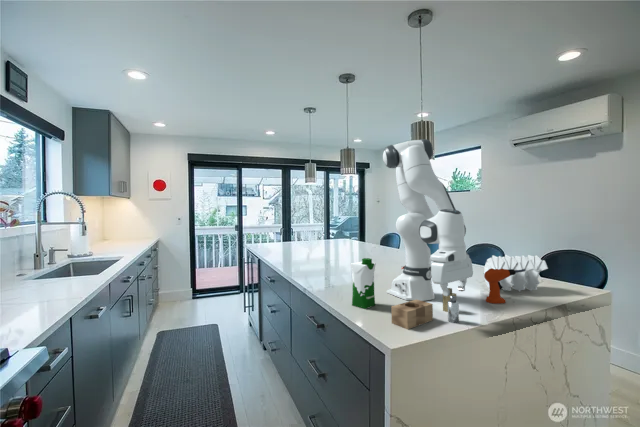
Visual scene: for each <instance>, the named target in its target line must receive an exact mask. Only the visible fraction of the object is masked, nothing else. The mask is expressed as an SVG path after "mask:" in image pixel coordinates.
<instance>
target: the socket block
mask: <svg viewBox="0 0 640 427" xmlns="http://www.w3.org/2000/svg"><path fill="white" fill-rule="evenodd" d="M433 306H434V305H433V303H430V302H427V301H420V300H417V299H416V300H408V301H406V302H402V303H398V304H396V305H395V304H394V305H391V307H390V308H391V312H390V313H391V324H393V325H394V326H397V327H400V328H403V329H405V330H410V329H412V328H416V327H418V326H421V325H424V324H426V323H429V322H432V321H433V320H434V319H433V318H434V317H433V316H434V314H433V313H434V308H433Z"/></svg>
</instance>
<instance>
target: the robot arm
mask: <svg viewBox="0 0 640 427" xmlns="http://www.w3.org/2000/svg"><path fill="white" fill-rule="evenodd" d="M432 144H433V143H432V142H431V141H430V140H429V139H426V138H425V139H424V138H421V139H414V140H412V139H411V140H406V141H404V142H399V143H395V144H390V145H387V146H386V147H385V148H384V149H383V154H382V161H383V162H384V165H385V167H387V168H388V169H395V180H396V186H397V187H396V188H397V191H398V196H399V201H400V203H401V205H402V206H403V207H404V208H405V210H406V212H407V213H405V214H402V215H400V216H398V218H397V219H396V222H395V229H396V232H398V235H400V236H401V239H402V242H403V245H404V248H405V249H404V250H405V251H404V252H405V253H404V254H405V265H404V266H402V267H401V270H402V272H401V274H398V276H397V277H395V278H393V280H392V281H391V287H390V288H388V289H386V293H387V294H389V295H392V296H395V297H396V298H399V299H402V300H405V301H413V300H416V299H417V300H420V301H424V302H426V301H431V300H434V299H435V298H436V296H435V293H434V289H433V284H436V285H439V287H440V288H441V290H442V296H443V295H444V296H449V295H450V290H448V288H449V287H448V286H449V283H453V282H457V281H459V284H458V285H457V287H458V288H457V290H458V291H459V292H465V291H466V285H467V282H468V279H470V278H472V277H473V274H474V270H473V262H472V259H471V258H470V254H468V252H467V249H466V247H467V246H466V242H465V236H466V234H467V233H466V232H467V228H466V225H465V222H464V221H465V220H464V216H463V214H462V212H461V211H460V210H457V209H456V207H455V205H454V203H453V200H452V198H451V196H450V194H449V192H448V190H447V188H446V186H445V184H444V183H442V181H441V180H440V179H439V178H438V177H437V174H436V173H435V171H434V170H433V166H432V163H431V161H430V160H431V159H432V158H433V155H434V148H433V145H432ZM426 197H428V198H430V199H432V201H434V203H435V204H436V206H437V210H438V212H437V213H436V214H435V215H434V213H433V212H432V210H431V208H430V206H429V204H428V202H427V199H426ZM428 244H431V245H432V244H433V245H434V244H435V245H436V244H438V249H437V250H436V251H434V253H432V254H431V252H432V251H431V248H430V247H429V246H428ZM432 282H433V283H432Z"/></svg>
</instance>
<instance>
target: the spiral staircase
mask: <svg viewBox="0 0 640 427" xmlns="http://www.w3.org/2000/svg"><path fill="white" fill-rule="evenodd" d="M491 268H492V269H501V268H502V269H507V270H508V269H513V270H521V269H525V271H523V272H518V273H516V274H515V275H511V276H509V277H507V278H505V279H503V280H501V281H499V282H500V284H501V286H502V287H503V288H502V289H501V290H503V291H504V292H507V291H512V289H513V290H516V291H517V292H520V293H521V291H522V290H523V291H524V290H526V289H527V290H529V291H530V292H532V291H533V290H538V287H537V286H538V285H540V284H541V282H540V281H539V275H540V272H542V271H546V270H548V269H549V267H548V265H547V262H546V260H542V259H541V258H540V257H539V256H538V255H537V254H535V256H534V255H530V254H527V256H525V255H524V254H522V255H520V256H519V255H515V256H514V255H512V256H509V255H508V254H504V256H501V255H499V256H496V255H494V254H493V255H491V257H489V258H487V259H486V261H485V265H484V268H483V269H484V270H483V271H484V273H483V276H484V274H485V272H486V271H488V270H489V269H491ZM483 279H484V280H483V281H485V282H484V283H485V285H486V286H487V288H488V289H490V287H489V282H488V281H487V280H486V279H485V278H484V277H483Z"/></svg>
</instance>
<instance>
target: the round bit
mask: <svg viewBox="0 0 640 427" xmlns="http://www.w3.org/2000/svg"><path fill="white" fill-rule="evenodd" d="M447 321H448V322H449V323H451V324H460V302H459V301H458V300H457V295H456V296H450V301H448V312H447Z"/></svg>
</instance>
